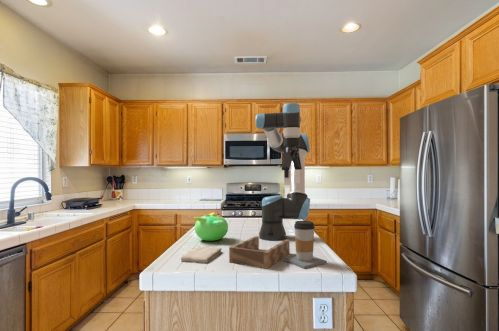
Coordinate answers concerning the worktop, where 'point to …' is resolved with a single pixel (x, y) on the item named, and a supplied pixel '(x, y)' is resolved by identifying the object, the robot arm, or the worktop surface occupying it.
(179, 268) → the worktop surface
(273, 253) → the u-shaped wooden frame
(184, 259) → the washcloth
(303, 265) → the coaster
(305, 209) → the robot arm
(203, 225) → the toy bird
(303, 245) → the coffee cup
